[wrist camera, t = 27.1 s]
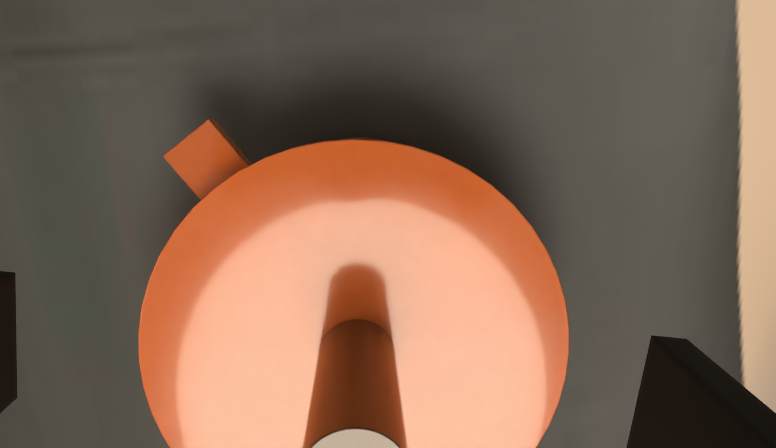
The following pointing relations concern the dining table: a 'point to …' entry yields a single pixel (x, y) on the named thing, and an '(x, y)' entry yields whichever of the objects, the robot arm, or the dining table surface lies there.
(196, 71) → the dining table surface
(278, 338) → the pot lid
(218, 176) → the pot
